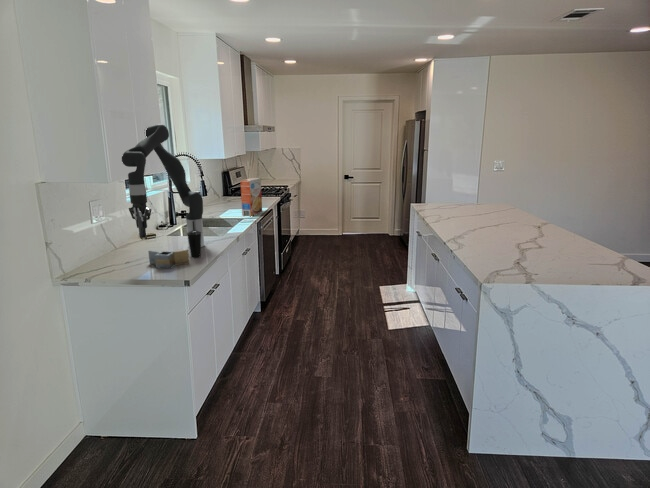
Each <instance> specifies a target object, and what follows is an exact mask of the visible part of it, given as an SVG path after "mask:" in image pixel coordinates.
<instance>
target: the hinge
mask: <svg viewBox="0 0 650 488" xmlns="http://www.w3.org/2000/svg"><path fill="white" fill-rule="evenodd" d="M147 252H148V259H149V260H148V261H149V265H155V266H156V267H155V268H156V269H167V270H169V269H172V268H173V267H174V266H177V265H179V266H180V265H184V264H189V263H190V255H189V249H185V250H184V249H183V250H177V251H167V250H166V251H165V250H163V251H156V250H148V251H147Z"/></svg>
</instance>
